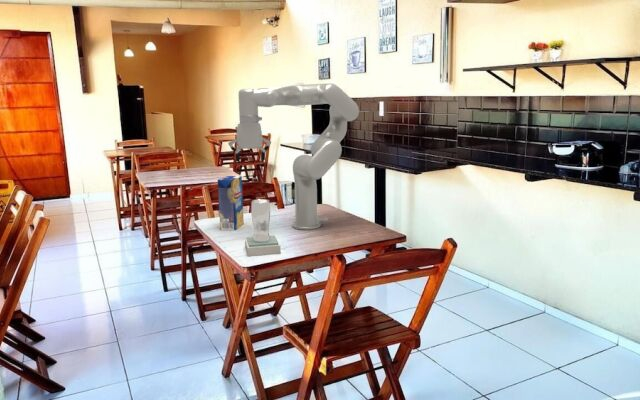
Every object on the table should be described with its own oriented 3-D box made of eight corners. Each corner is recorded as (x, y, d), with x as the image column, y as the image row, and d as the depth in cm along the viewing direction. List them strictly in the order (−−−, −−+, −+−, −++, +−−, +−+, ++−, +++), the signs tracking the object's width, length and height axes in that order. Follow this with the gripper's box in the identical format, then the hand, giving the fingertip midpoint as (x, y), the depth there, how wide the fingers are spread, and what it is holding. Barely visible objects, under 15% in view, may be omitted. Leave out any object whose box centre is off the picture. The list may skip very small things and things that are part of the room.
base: (275, 244, 206) (275, 234, 205) (280, 253, 194) (280, 243, 193) (245, 246, 203) (244, 236, 202) (247, 256, 192) (247, 245, 191)
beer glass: (263, 243, 193) (261, 203, 190) (248, 241, 197) (247, 201, 194) (274, 239, 199) (273, 200, 196) (260, 236, 203) (258, 198, 199)
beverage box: (243, 224, 238) (241, 176, 233) (235, 230, 227) (232, 180, 222) (229, 223, 239) (227, 175, 234) (220, 229, 228) (217, 179, 224)
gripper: (269, 119, 217) (270, 160, 221) (226, 120, 213) (228, 162, 217) (271, 120, 210) (272, 162, 213) (227, 121, 206) (229, 164, 210)
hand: (250, 162), depth 215 cm, fingers open, 9 cm apart
